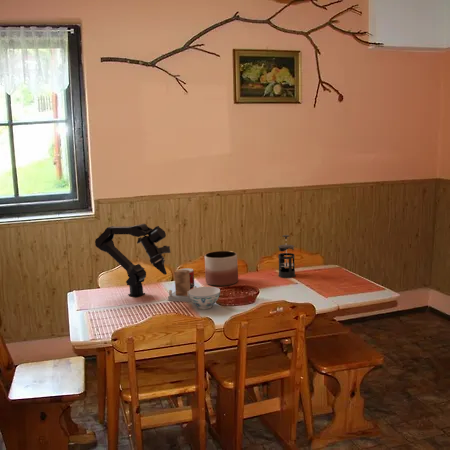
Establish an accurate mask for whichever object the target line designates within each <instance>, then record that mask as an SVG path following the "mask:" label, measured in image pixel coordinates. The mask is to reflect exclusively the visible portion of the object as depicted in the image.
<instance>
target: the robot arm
mask: <svg viewBox="0 0 450 450" xmlns="http://www.w3.org/2000/svg"><path fill="white" fill-rule="evenodd" d="M115 235H130V236H132V237H136V238H137V242H136V244H141V245H142V247H143V249H144V250H145V252H146V254H147V255H148V257H149V262H150V264H151V265H152V266H153V267H155V269H157V270H158V271H159V272H160V273H161V274H163V275H167V270H166V267H165V261H166V260H165V257H164V256H163V254H170V253H171V248H170V247H171V246H170V245H163V246H162V247H158V246H157V245H156V244H157V243H159V242H160V241H162V240H163V239H165V238H166V237H167V234H166V231H165V230H164V229H163V228H161V227H160V226H159V225H157V226H155V227H154V228H152V227H150V226H148V225H147V224H146V223H140V224H135V225H132V226H131V225H129V226H126V225H125V226H124V225H123V226H121V225H119V226H114V225H111V226H107V227H106V228H105V230H103V232H102V233H101V234H99V236H98V237H97V238H95V240H94V245H95V248H98V250H99V251H101V252H104V253H107V254H108V255H109V256H110V257H111V258H112V259H113V260H115V261H116V263H117V264H118V265H120V266H121V268H123V269H124V270H125V272H126V274H127V277H128V278H127V279H126V281H125V283H126V285H127V286H129V293H128V294H127V296H128V295H129V296H128V297H133V298H134V297H135V298H139V297H141V296H144V295H145V294H146V292H144V287H143V282H145V279H146V278H147V271H146V270H145V267H142V265H141V264H140V263H138V264H134V263H133V262H132V261H131V260H130V259H129V258H128V257H126V255H124V254H123V253H122V252H121V251H120V250H119V249H118V248H117V247H116V246H115V242H114V240H113V239H114V238H115Z"/></svg>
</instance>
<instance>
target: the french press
mask: <svg viewBox="0 0 450 450" xmlns="http://www.w3.org/2000/svg"><path fill="white" fill-rule="evenodd" d="M282 237H283V238H284V239H285V240H287V239H288V238H289V237H290V235H289V234H284V235H282ZM277 248H278V251H279V252H280V253H279V254H277V256H278V277H279V278H282V279H291V278H295V277H296V268H295V266H296V264H295V253H291V252H287V250H289V249H290V250H292V251H294V248H295V245H294V244H280V245H278V247H277Z"/></svg>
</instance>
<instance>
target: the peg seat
mask: <svg viewBox="0 0 450 450" xmlns="http://www.w3.org/2000/svg"><path fill="white" fill-rule="evenodd" d="M194 288H197V286H195V285H194ZM188 292H189V291H187V296H179V295H176V290H175V291H173V290H172V289H169V290H168V293H169V294H168V296H167V300H168V301H173V302H183V303H184V302H186V303H187V302H189V303H191V302H192V301H191V299H190V297H189V293H188Z"/></svg>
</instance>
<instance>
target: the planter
mask: <svg viewBox="0 0 450 450" xmlns="http://www.w3.org/2000/svg"><path fill="white" fill-rule="evenodd" d="M204 274H205V276H204V277H205V282H206V284H208V285H210V286H212V287H226V286H232V285H235V284H236V283H237V282H238V281H239V267H238V253H237V252H235V251H232V250H215V251H209V252H206V253H205V254H204Z"/></svg>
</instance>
